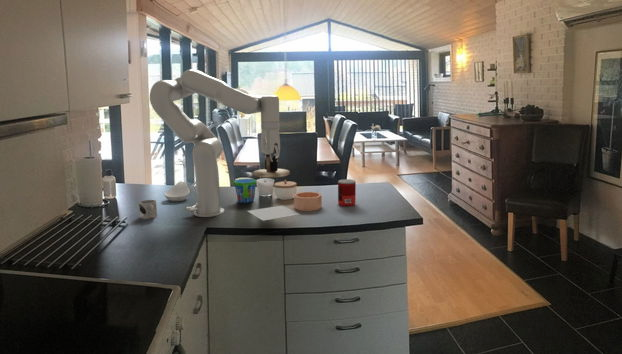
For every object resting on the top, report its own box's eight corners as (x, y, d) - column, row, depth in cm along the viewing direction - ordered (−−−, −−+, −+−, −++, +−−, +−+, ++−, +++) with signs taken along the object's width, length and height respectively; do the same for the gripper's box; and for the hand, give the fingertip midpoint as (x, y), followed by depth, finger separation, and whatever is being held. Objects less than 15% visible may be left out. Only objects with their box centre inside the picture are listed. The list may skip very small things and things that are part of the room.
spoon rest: (187, 203, 205) (185, 188, 204) (161, 203, 205) (160, 189, 203) (197, 192, 228) (196, 178, 227) (174, 192, 228) (173, 179, 226)
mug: (138, 216, 182) (137, 201, 181) (154, 214, 186) (153, 199, 185) (145, 222, 175) (144, 206, 173) (162, 219, 179) (161, 203, 177)
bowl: (302, 213, 184) (302, 199, 183) (289, 207, 195) (289, 193, 193) (326, 209, 190) (326, 195, 189) (313, 203, 200) (312, 190, 199)
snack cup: (236, 198, 213) (235, 177, 211) (258, 197, 213) (257, 177, 211) (232, 206, 197) (231, 184, 196) (256, 205, 198) (255, 183, 196)
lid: (262, 178, 171) (261, 161, 170) (247, 173, 184) (247, 156, 182) (295, 175, 178) (295, 158, 177) (279, 169, 191) (279, 153, 190)
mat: (262, 221, 173) (262, 220, 173) (246, 212, 187) (246, 210, 187) (300, 215, 181) (300, 214, 181) (282, 206, 196) (282, 205, 195)
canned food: (358, 204, 198) (359, 180, 196) (347, 207, 192) (348, 183, 190) (345, 201, 203) (345, 178, 201) (334, 204, 197) (334, 181, 195)
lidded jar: (298, 196, 214) (297, 178, 212) (295, 202, 203) (294, 182, 201) (276, 196, 215) (276, 177, 213) (272, 201, 204) (272, 182, 202)
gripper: (253, 125, 182) (255, 168, 186) (270, 127, 168) (271, 174, 172) (270, 124, 186) (271, 166, 190) (287, 126, 172) (288, 172, 175)
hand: (271, 169), depth 181 cm, fingers closed on lid, 4 cm apart
